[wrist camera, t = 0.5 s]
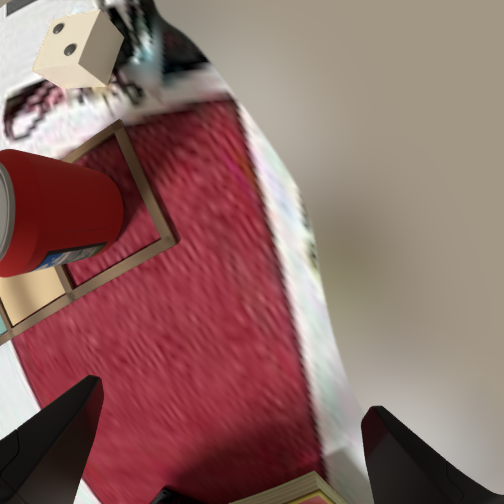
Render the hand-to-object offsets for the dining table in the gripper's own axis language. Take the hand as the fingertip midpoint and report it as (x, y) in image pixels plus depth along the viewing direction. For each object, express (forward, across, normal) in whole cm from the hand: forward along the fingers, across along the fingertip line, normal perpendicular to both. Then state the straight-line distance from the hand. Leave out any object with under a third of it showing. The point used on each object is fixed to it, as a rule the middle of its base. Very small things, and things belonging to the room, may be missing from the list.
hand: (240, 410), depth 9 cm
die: (+20, +15, -13) cm, 28 cm away
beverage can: (+16, +12, 0) cm, 20 cm away
